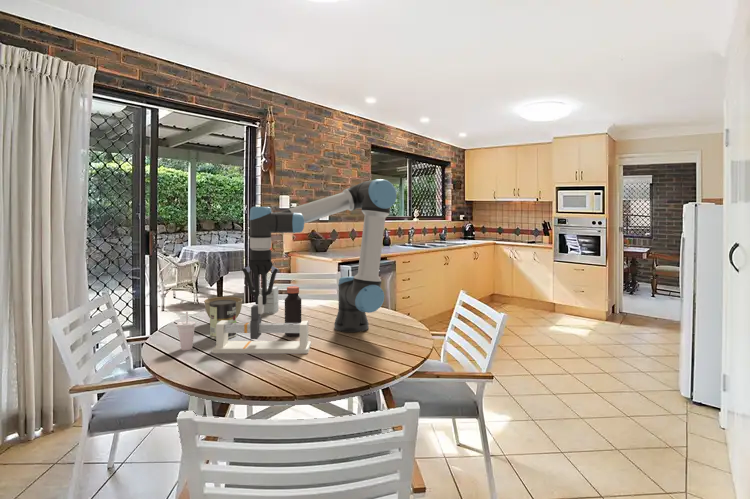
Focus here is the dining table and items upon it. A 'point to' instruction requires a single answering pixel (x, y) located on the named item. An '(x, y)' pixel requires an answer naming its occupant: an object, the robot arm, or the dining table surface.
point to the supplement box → (271, 301)
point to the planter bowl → (238, 300)
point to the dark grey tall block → (254, 322)
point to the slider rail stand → (261, 343)
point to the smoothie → (186, 333)
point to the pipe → (263, 328)
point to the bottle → (292, 308)
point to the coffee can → (222, 315)
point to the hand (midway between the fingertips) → (261, 313)
